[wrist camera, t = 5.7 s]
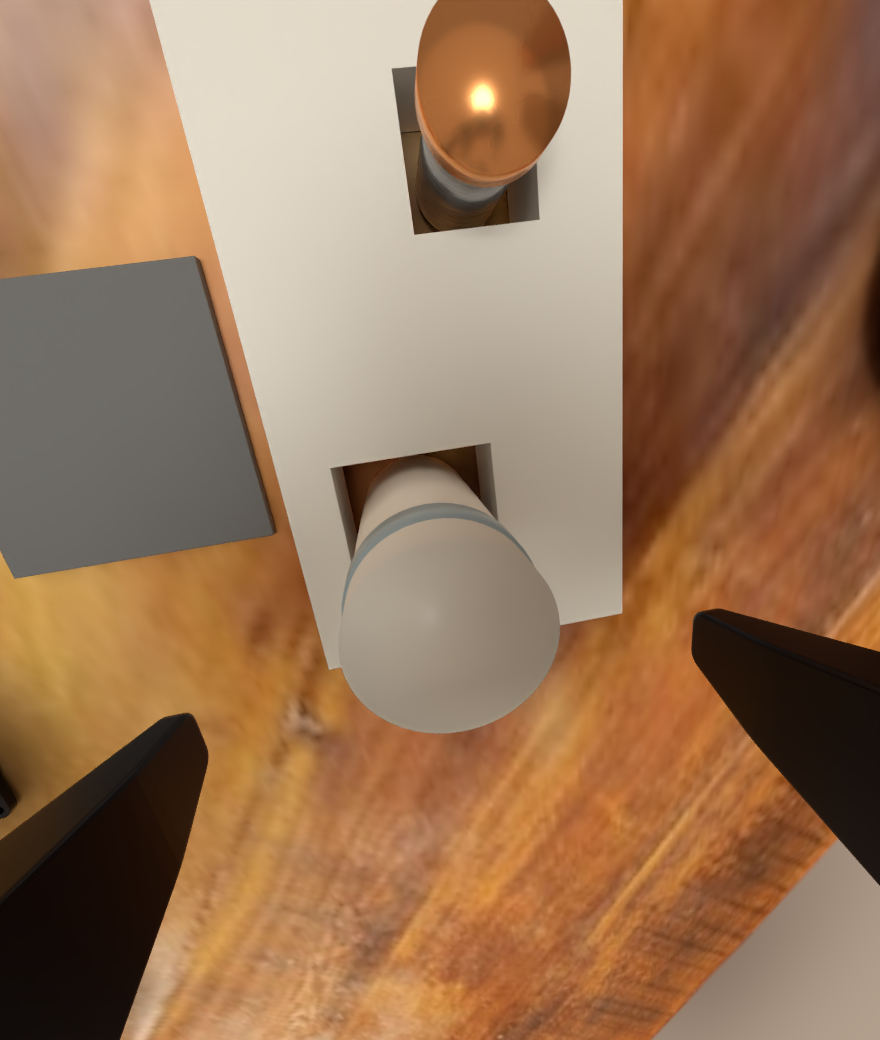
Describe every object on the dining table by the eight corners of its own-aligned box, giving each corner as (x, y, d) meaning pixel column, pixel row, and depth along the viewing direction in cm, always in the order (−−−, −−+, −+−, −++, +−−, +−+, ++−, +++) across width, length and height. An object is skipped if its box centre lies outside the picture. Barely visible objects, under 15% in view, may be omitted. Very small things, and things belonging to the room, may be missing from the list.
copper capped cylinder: (509, 239, 15) (574, 163, 10) (414, 251, 14) (429, 179, 9) (501, 119, 14) (568, -36, 9) (398, 130, 13) (404, -25, 8)
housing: (588, 581, 20) (622, 613, 17) (337, 627, 19) (328, 669, 16) (573, 34, 14) (622, -58, 11) (197, 68, 13) (143, -23, 10)
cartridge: (476, 548, 19) (567, 712, 9) (373, 566, 18) (360, 755, 9) (464, 445, 17) (558, 516, 8) (352, 463, 17) (309, 558, 8)
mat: (275, 531, 17) (273, 535, 17) (23, 574, 17) (14, 578, 16) (199, 259, 14) (194, 256, 14) (-117, 297, 14) (-132, 295, 13)
